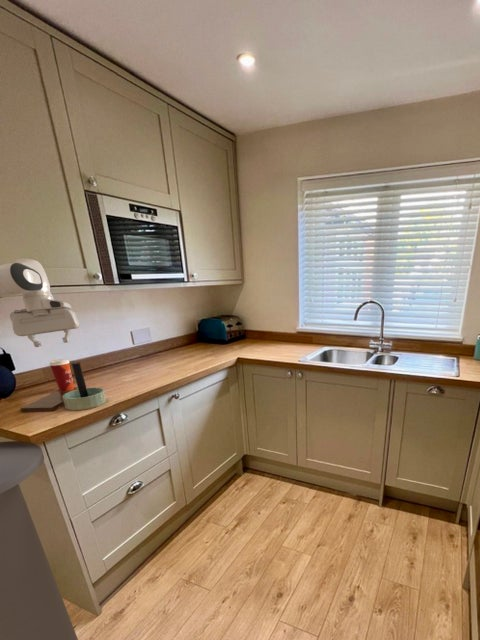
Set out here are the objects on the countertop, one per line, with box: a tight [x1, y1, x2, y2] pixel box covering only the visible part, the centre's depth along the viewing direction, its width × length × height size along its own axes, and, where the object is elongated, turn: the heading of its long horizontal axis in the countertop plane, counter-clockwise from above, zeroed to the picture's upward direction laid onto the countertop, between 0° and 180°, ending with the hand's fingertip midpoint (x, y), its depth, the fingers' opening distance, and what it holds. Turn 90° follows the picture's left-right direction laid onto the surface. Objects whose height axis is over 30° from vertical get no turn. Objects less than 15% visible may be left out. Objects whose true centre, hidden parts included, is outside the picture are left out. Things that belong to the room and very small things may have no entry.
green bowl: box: [62, 386, 107, 411], centre depth 136 cm, size 14×14×5 cm
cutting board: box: [20, 391, 70, 413], centre depth 139 cm, size 20×12×2 cm, turn 2°
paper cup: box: [48, 358, 75, 392], centre depth 152 cm, size 8×8×14 cm
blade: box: [71, 361, 89, 398], centre depth 133 cm, size 9×9×17 cm
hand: (52, 344), depth 123 cm, fingers open, 8 cm apart
